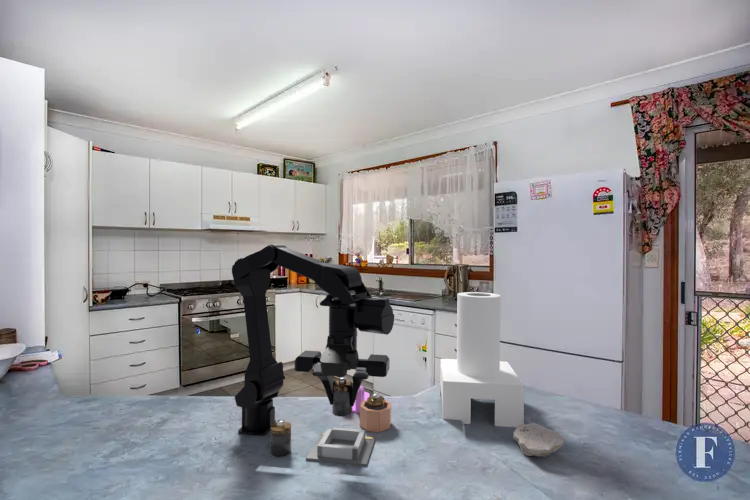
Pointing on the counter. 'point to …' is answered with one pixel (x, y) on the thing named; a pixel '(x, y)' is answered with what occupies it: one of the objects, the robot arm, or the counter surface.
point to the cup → (375, 417)
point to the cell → (342, 397)
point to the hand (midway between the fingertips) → (342, 404)
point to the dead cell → (375, 402)
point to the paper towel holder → (480, 365)
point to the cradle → (342, 447)
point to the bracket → (360, 399)
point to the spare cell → (280, 438)
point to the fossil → (537, 439)
